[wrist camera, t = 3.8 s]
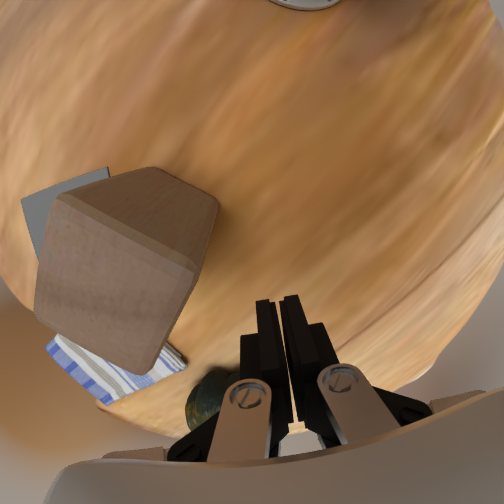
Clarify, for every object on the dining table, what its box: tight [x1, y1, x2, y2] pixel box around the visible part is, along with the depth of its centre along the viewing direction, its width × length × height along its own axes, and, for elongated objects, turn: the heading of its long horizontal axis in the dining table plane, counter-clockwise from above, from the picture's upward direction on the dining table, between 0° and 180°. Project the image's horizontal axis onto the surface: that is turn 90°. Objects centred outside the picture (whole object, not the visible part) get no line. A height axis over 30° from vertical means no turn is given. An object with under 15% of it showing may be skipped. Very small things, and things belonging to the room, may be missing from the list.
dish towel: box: [45, 333, 188, 406], centre depth 40 cm, size 17×24×3 cm
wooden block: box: [34, 167, 219, 376], centre depth 24 cm, size 10×10×20 cm
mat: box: [21, 167, 110, 261], centre depth 34 cm, size 17×16×1 cm
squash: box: [185, 371, 240, 431], centre depth 39 cm, size 14×15×15 cm
